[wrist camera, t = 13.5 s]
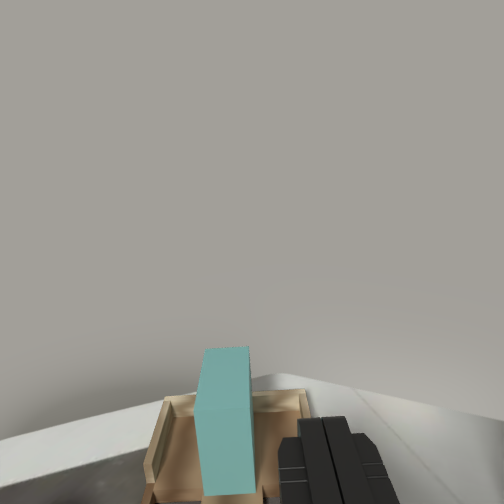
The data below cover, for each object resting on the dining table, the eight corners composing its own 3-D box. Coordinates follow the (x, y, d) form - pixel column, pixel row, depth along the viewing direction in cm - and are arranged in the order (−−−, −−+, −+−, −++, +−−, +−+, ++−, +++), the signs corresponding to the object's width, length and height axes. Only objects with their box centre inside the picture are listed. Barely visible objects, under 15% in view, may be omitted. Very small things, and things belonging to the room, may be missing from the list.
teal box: (253, 417, 54) (248, 346, 51) (255, 493, 43) (249, 407, 39) (213, 420, 54) (205, 348, 51) (204, 496, 43) (193, 410, 39)
